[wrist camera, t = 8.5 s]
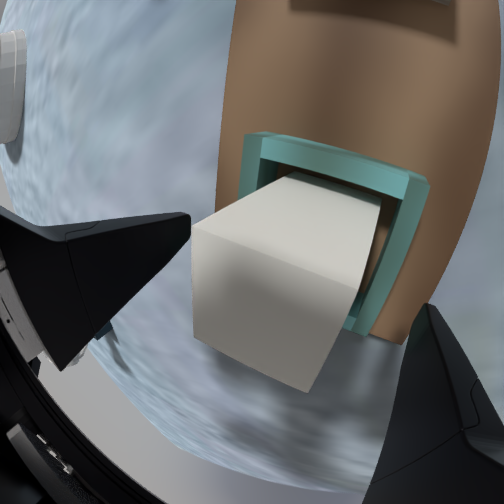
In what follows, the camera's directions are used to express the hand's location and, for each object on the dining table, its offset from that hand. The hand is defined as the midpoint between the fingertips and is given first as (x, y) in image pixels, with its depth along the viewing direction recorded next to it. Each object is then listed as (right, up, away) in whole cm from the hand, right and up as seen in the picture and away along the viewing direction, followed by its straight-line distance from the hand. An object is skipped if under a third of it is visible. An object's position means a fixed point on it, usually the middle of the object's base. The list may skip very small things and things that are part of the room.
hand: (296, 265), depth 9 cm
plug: (+2, +2, +3) cm, 4 cm away
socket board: (+3, +9, 0) cm, 9 cm away
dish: (-44, +30, +18) cm, 56 cm away
